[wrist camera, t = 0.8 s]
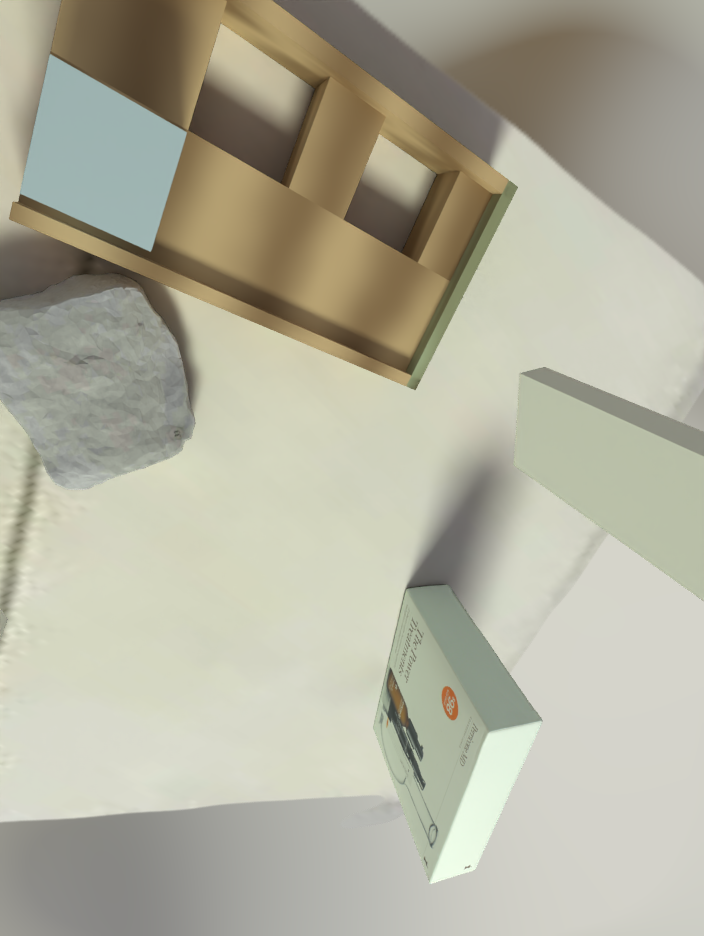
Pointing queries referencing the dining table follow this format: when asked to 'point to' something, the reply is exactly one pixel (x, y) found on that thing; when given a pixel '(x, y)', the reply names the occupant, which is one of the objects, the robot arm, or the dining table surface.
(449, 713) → the skincare box
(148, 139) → the block
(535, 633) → the dining table surface
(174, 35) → the trap box
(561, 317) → the dining table surface
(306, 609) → the dining table surface
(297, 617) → the dining table surface
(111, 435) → the stone block
